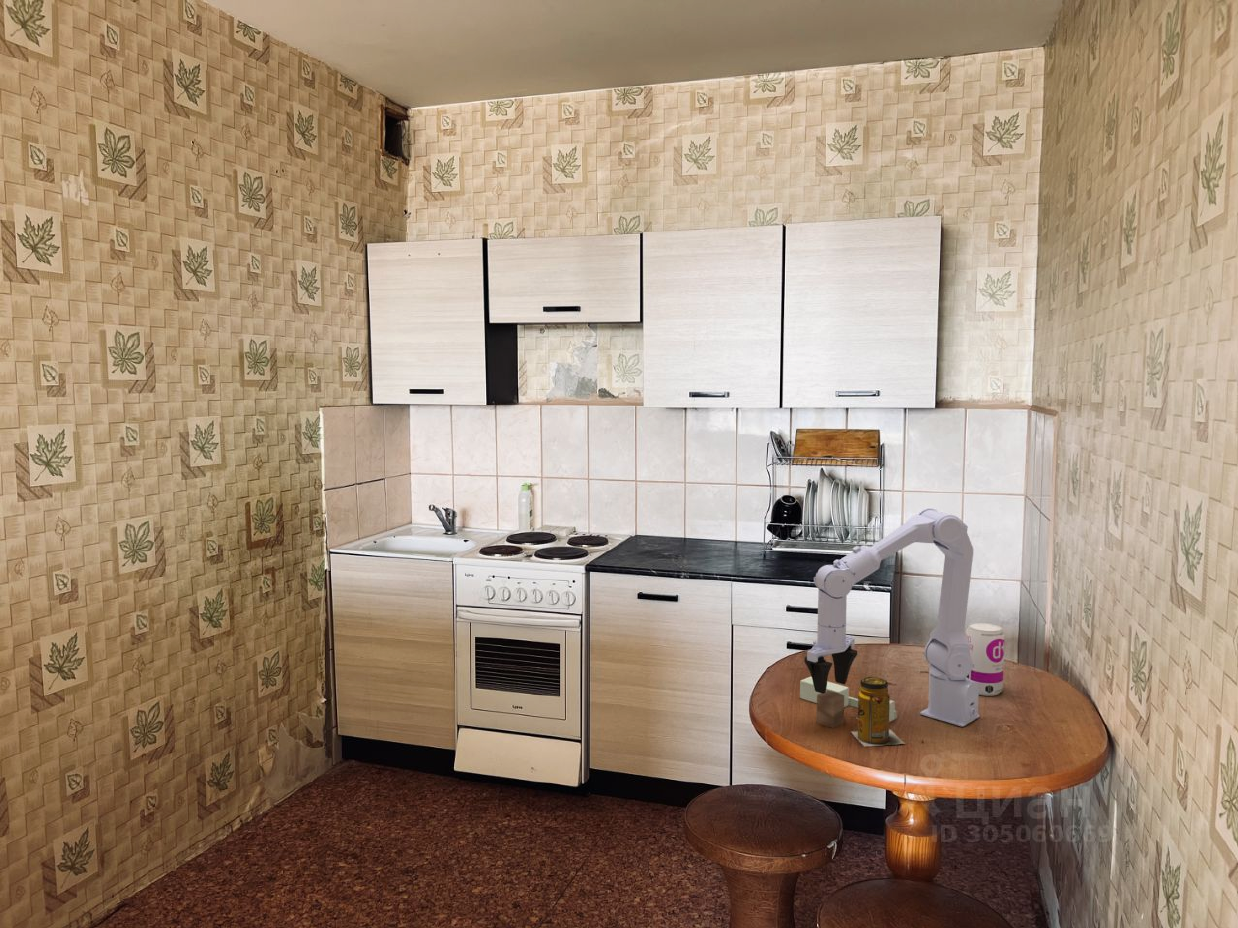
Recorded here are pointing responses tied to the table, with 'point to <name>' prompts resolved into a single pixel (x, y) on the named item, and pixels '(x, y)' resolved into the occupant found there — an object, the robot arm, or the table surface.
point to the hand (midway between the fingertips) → (830, 687)
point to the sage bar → (811, 695)
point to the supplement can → (986, 657)
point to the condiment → (874, 714)
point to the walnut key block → (830, 709)
